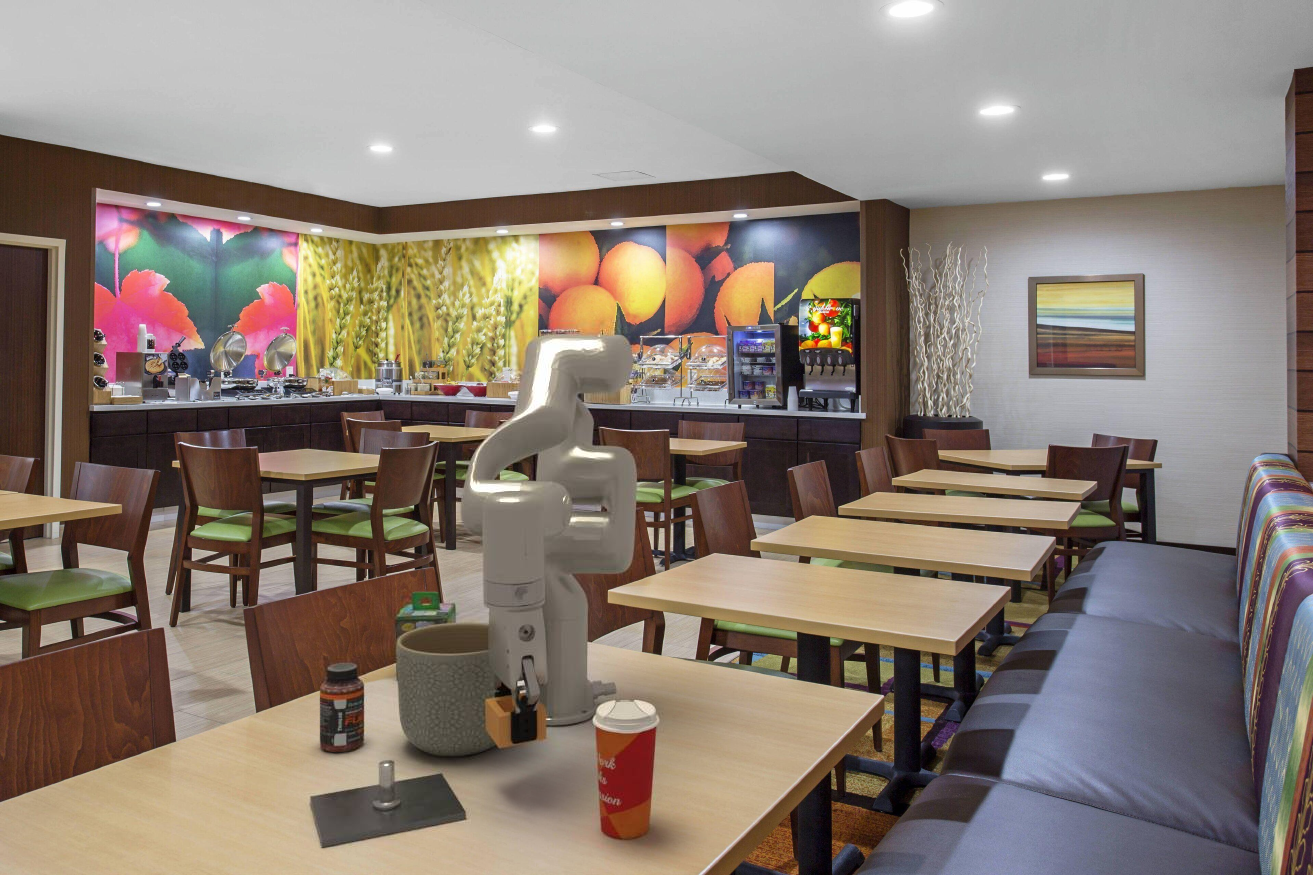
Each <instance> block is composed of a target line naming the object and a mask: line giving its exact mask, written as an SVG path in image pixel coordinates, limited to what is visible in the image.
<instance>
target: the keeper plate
mask: <svg viewBox="0 0 1313 875" xmlns="http://www.w3.org/2000/svg"><path fill="white" fill-rule="evenodd" d="M395 767H396V766H395V761H394V760H390V759H387V760H381V761H380V762H378V784H372V785H368V786H363V787H357V788H351V789H345V790H341V791H334V792H328V793H323V794H322V793H321V794H317V795H311V796H309V797H310V798H309V801H310V803H309V804H310V806H311V810H312V813H313V814H312V815H313V818H314V822H315V825H316V829H317V833H318V837H319V840H320V843H321V848H326V847H332V846H338V845H341V844H342V845H343V844H347V843H352V842H356V841H362V840H367V839H371V838H375V837H376V838H377V837H382V836H387V835H391V834H397V833H402V832H405V831H412V830H417V829H421V828H427V827H431V826H436V825H442V824H446V823H452V822H456V821H460V820H461V821H462V820H465V819H467V812H466V810H465V808H464V807H463V805H462V804H461V802H460V800H459V799H458V797H457V795H456V794H455V792H454V790H453V789H452V787H451V786H450V784H449V782H448V781H447V779H446V777H445V776H444V774H443V773H442V772H440V773H436V774H429V775H425V776H420V777H413V778H408V779H402V780H396V779H395V777H396V776H395V774H396V773H395V772H396V771H395ZM395 780H396V781H395Z"/></svg>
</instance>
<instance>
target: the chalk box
mask: <svg viewBox="0 0 1313 875" xmlns="http://www.w3.org/2000/svg"><path fill="white" fill-rule="evenodd" d="M423 598H427V599H430V600H431V603H421V601H420V600H421V599H423ZM411 603H412V604H410V603H409V604H406V605H405V606H404V607H403V608H401V609H400V611H399V613H398V614H397V615H396V617H395V618H394V624H395V625H394V629H395V669H396V670H395V671H396V673H395V674H396V681H397V682H398V677H397V639H398V638H399V637H400V636H401V635H403V634H404V633H406V632H409V631H411V630H414V629H417V628H421V627H426V626H431V625H437V624H446V623H457V613H456V611H457V610H456V603H455V602H445V603H444V602H440V594H439V592H438V591H413V592H412V593H411Z"/></svg>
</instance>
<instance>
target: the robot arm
mask: <svg viewBox="0 0 1313 875" xmlns="http://www.w3.org/2000/svg"><path fill="white" fill-rule="evenodd" d="M524 353H525V355H524V357H525V358H524V362H523V368H522V372H521V376H520V383H519V386H518V387H519V388H518V392H517V397H516V402H515V406H514V412H513V415H512V416H511V417H510V418H509V419H507V420H506V421H504V422H502V424H500V425H499V426H497V428H495V429H494V430H493V431H491V433H490V434H489V435H487V437H486V438H485V439H484V440H483V441H482V442H481V443H480V444H479V445H478V447H477V448H476V450H475V451H474V453H473V455H472V457H471V459H470V462H469V464H468V468H467V472H466V477H465V479H464V480H465V481H464V485H463V489H462V494H461V501H460V518H461V522H462V525H463V527H464V529H465V530H466V531H467V532H468V533H469V534H470V535H473V536H476V537H481V538H482V582H483V583H482V585H483V588H482V590H483V592H482V593H483V606H484V607H485V608H488V610H489V611H488V623H489V630H488V649H489V662H490V666H491V668H492V670H493V671H494V673H495V681H494V688H495V691H499V692H495V698H496V697H503V696H508V695H512V702H513V710H514V711H511V742H512V743H513V744H518V743H523V742H528V741H533V740H536V739H537V709H538V704H537V701H538V700H539V701H540V702H541V703H542V704H543V706H544V707H545V708H546V726H566V725H572V724H573V725H574V724H578V723H581V722H585V721H587V720H590V718H593V717H594V716H595V715H596V710H597V708H598V703H597V702H596V700H597V699H598V698H599V697H602V696H605V697H607V696H612V695H613V696H614V695H616V694H617V685H616V683H615V681H612V682H605V683H603V681H602V680H601V679H600V680H595V681H590V680H589V679H588V642H589V641H588V635H589V634H588V624H589V623H588V622H589V621H588V618H589V616H588V615H589V604H588V599H587V595H586V593H585V591H584V589H583V588H582V586H581V585H580V583H579V582H578V581H577V579H576V578H575V577H574V575H575V574H601V575H602V574H604V575H609V574H610V575H612V574H613V575H614V574H615V575H617V574H622V573H624V572H626V571H627V570H628V569H629V568H630V566H631V564H632V562H633V557H634V552H635V551H634V550H635V540H636V539H635V536H636V535H635V534H636V513H637V512H636V511H637V492H638V474H637V465H636V461H635V457H634V455H633V453H632V452H630V450H628V449H626V448H625V447H621V446H615V445H594V444H593V438H594V436H593V435H594V427H595V426H594V424H595V421H594V418H593V415H592V414H591V412H590V410H589V409H588V407H587V406H586V405H585V403H584V402H583V401H582V400H581V398H580V397H579V395H580V394H595V395H597V394H599V395H600V394H601V395H603V394H606V395H607V394H609V395H610V394H616V393H618V392H620V391H621V390H622V389H624V387H626V386H627V384H628V383H629V381H630V380H631V376H632V374H633V373H632V372H633V367H634V354H633V349H632V347H631V344H630V341H629V340H628V339H627V337H626V336H624V335H622V334H582V333H581V334H579V333H577V334H576V333H556V334H554V333H553V334H546V335H545V334H544V335H541V336H537V337H535V338H533V339H531V340H530V341H529V342H528V343H527V345H526V348H525V352H524ZM536 454H537V465H536V480H518V479H517V480H514V479H513V480H510V479H508V480H507V479H496V478H497V476H498V475H499V474H500V473H501V472H502V471H504V470H505V469H506V468H507V467H509V466H511V465H512V464H514V463H516V462H518V461H520V460H524V459H526V458H529V457H531V456H533V455H536ZM573 506H597V507H598V506H600V507H604V508H605V509H606V511H588V510H587V511H584V510H573V508H574V507H573ZM573 574H574V575H573ZM522 681H523V682H524V684H522V685H518V682H522ZM523 691H525V692H524V693H525V695H524V696H522V697H521V699H520V701H519V693H520V692H523Z"/></svg>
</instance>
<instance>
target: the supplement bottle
mask: <svg viewBox="0 0 1313 875" xmlns="http://www.w3.org/2000/svg"><path fill="white" fill-rule="evenodd" d="M326 672H327V673H326V676H327V679H325V681H324V682H322V683H321V686H320V688H319V746H320V748H321V749H323V750H325V751H326V752H333V753H343V752H348V751H353V750H355V749H358V748H359V747H361V746H362V745H363V744H364V741H365V684H364V682H363V680H362V679H360V677H358V665H357V664H356V663H351V662H341V663H334V664H331V665H329V666H328V667H327V668H326Z"/></svg>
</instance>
